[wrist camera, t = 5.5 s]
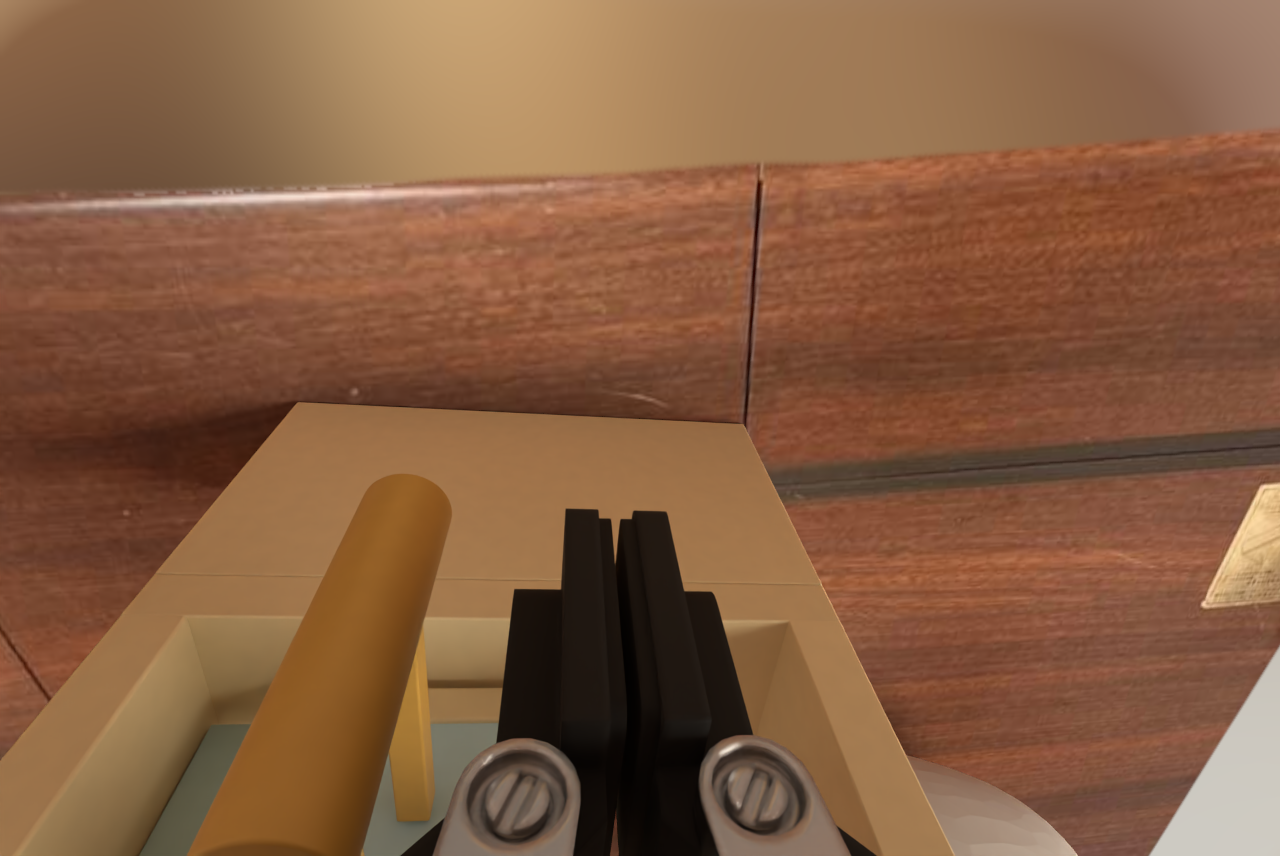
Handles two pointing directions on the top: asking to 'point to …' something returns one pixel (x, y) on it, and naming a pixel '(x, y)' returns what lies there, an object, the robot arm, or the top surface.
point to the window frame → (442, 615)
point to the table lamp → (984, 816)
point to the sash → (357, 704)
